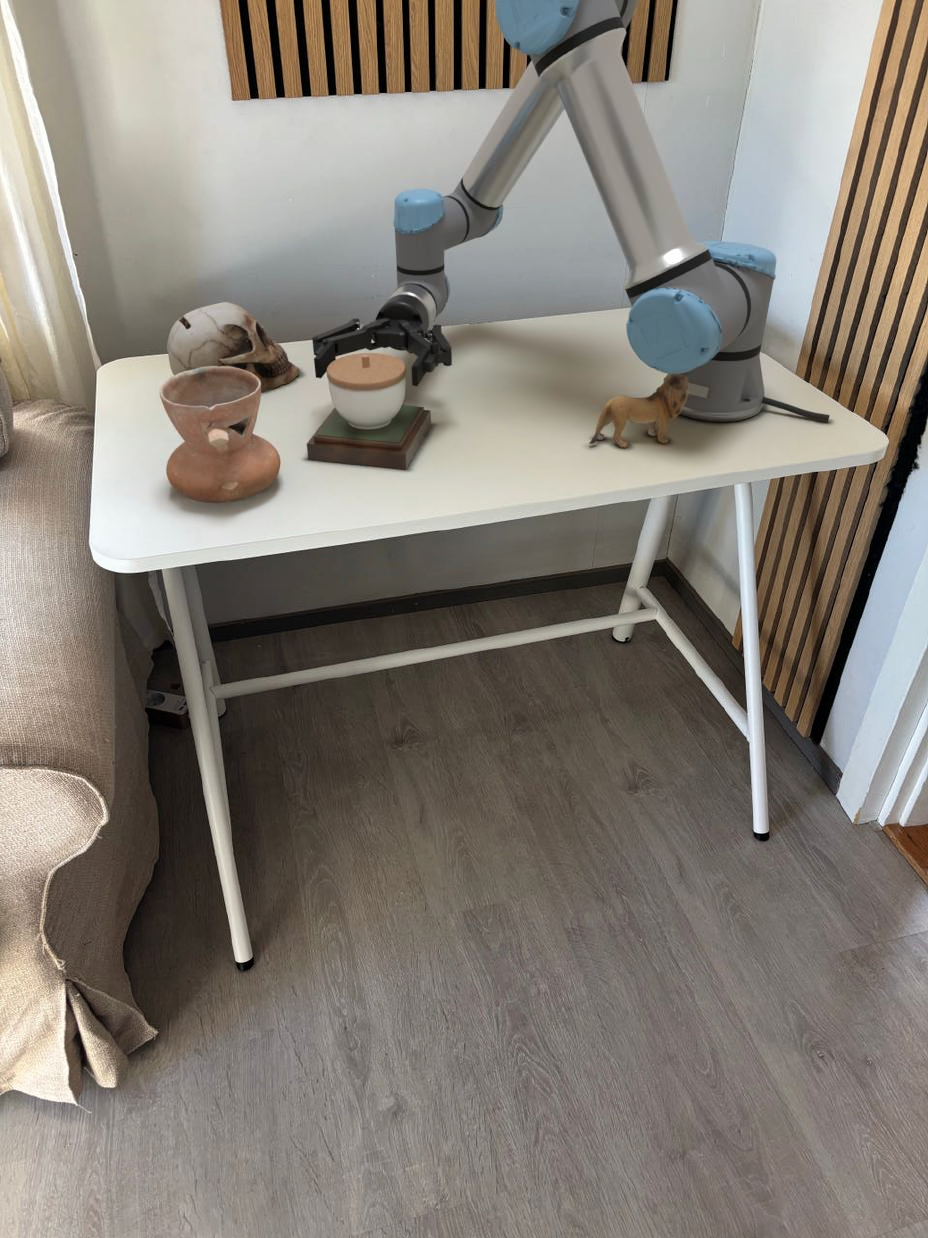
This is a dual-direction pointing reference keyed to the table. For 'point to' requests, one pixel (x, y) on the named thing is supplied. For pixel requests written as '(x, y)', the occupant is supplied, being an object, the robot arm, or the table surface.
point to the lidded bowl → (367, 388)
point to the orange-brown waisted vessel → (217, 435)
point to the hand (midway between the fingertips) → (365, 372)
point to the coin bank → (228, 345)
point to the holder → (371, 440)
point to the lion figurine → (646, 409)
